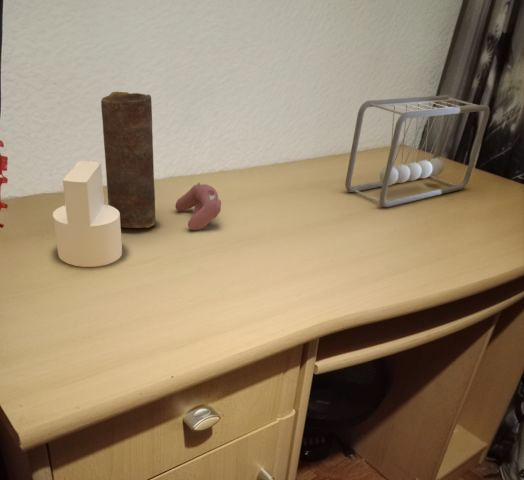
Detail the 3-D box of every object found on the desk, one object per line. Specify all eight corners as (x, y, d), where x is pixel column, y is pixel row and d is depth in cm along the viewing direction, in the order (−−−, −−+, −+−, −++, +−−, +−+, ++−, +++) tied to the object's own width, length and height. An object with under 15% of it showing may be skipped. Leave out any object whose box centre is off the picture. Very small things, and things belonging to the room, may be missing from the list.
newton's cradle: (429, 175, 129) (451, 94, 119) (467, 189, 123) (493, 104, 112) (342, 192, 112) (359, 100, 102) (380, 209, 106) (402, 113, 96)
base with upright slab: (67, 238, 83) (57, 158, 76) (127, 242, 84) (122, 163, 77) (50, 264, 76) (37, 178, 69) (115, 269, 76) (109, 184, 69)
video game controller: (210, 239, 91) (230, 202, 89) (187, 229, 88) (206, 191, 86) (194, 216, 98) (212, 182, 96) (172, 207, 96) (190, 171, 93)
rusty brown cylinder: (138, 238, 85) (132, 101, 74) (99, 227, 87) (88, 92, 76) (164, 223, 91) (162, 94, 79) (127, 213, 93) (120, 85, 81)
